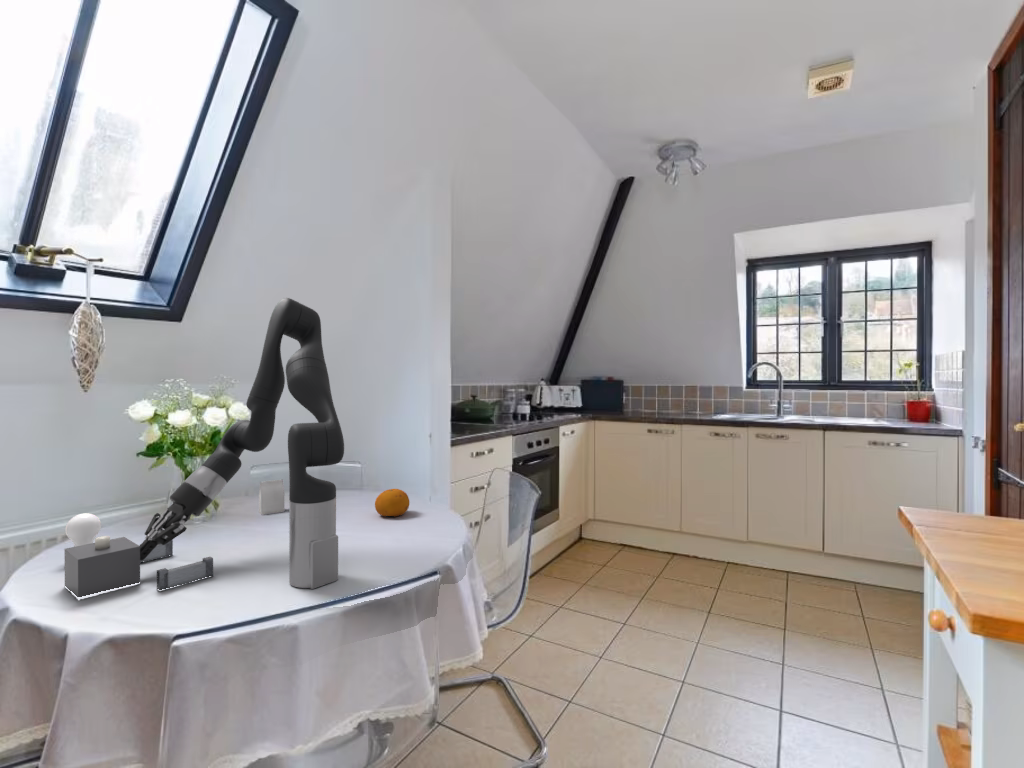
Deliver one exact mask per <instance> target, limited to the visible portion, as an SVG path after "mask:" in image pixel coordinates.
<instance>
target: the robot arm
mask: <svg viewBox="0 0 1024 768" xmlns="http://www.w3.org/2000/svg"><path fill="white" fill-rule="evenodd" d="M283 336H286V337H288V338H291V339H294V340H295V341H297V342H298V343H299V345H300V348H299V349H298V350H296V351H295V352H294V353H293V354H292V355H291V356H290V357H289V359H288V360H287V363H286V365H285V370H284V366H283V361H282V352H281V346H282V345H281V344H282V340H283V338H284V337H283ZM322 341H323V340H322V321H321V318H320V315H319V313H318V312H317V311H316V310H315V309H313V308H311V307H308V306H307V305H304V303H301V302H299V301H296V300H295V299H292V298H290V297H283V298H282V299H280V300H279V301H278V302H277V304H275V306H274V308H273V310H272V313H271V316H270V318H269V322H268V326H267V330H266V334H265V339H264V344H263V347H262V352H261V353H262V354H261V357H260V363H259V366H258V370H257V373H256V377H255V378H254V382H253V384H252V386H251V389H250V391H249V394H248V397H247V399H246V407H247V409H248V410H249V411H250V418H249V420H248V419H241V420H239V421H236V422H235V423H233V424H232V425H231V426H230V427H229V428H228V429H227V430H226V431H225V432H224V434H223V436H222V437H221V439H220V441H219V442H218V445H217V446H216V448H215V450H214V451H213V453H211V455H209V457H208V458H207V459H206V460H205V461H204V462H203V463H202V464H201V465H200V466H199V467H198V468H196V469H195V470H194V471H193V472H191V474H190V475H189V476H188V477H187V478H186V479H185V480H184V481H183V482H182V483H181V485H179V486H178V487H177V488H176V490H175V491H173V492H172V493H171V495H170V496H169V500H170V501H171V502H172V504H171V505H170V506H169V507H167V508H166V509H164V511H163V512H162V513H161V514H160V513H158V512H156V513H155V514H154V515H153V516H152V519H151V521H150V522H149V524H148V526H147V528H146V529H145V532H144V536H145V537H144V539H145V540H143V541H142V542H141V544H139V546H140V560H141V561H142V560H144V559H145V558H146V557H147V556H148V555H149V554H150V552H151V551H152V550H153V549H154V548H155V547H156V546H159V545H160V544H162V545H165V544H166V543H168V542H169V541H171V540H172V539H173V540H174V539H176V538H177V537H179V536H180V535H181V534H183V533H184V532H186V531H187V527H186V526H185V524H186V523H187V522H188V521H189V519H190V517H191V516H195V517H199V516H201V515H202V514H203V512H204V511H205V510H206V509H207V508H208V507H209V506H210V504H211V503H212V502H213V501H214V500H215V498H217V496H219V494H220V493H221V492H222V491H223V490H224V488H225V486H226V485H227V483H229V482H230V481H231V479H232V478H233V477H234V476H235V475H236V474H237V472H239V471H240V469H241V467H242V465H243V464H242V460H241V459H240V456H241V455H242V453H244V451H245V450H246V451H248V452H252V453H253V452H254V453H258V452H261V451H264V449H266V448H267V447H268V446H269V445H270V443H271V442H272V439H273V436H274V431H275V424H276V423H275V422H276V414H277V413H276V411H277V408H278V405H279V403H280V400H281V397H282V395H283V392H284V389H285V382H286V384H287V388H288V391H289V393H290V395H291V396H292V397H293V398H294V399H295V400H296V402H298V403H299V404H300V405H301V406H303V408H305V409H306V410H307V412H308V411H309V413H311V414H312V415H313V416H314V418H315V420H317V422H300V423H293V424H292V425H291V426H290V428H289V430H288V433H287V453H288V454H287V455H288V472H289V474H288V475H289V486H288V487H289V495H288V497H289V502H288V503H289V508H288V509H289V514H288V515H289V520H288V521H289V523H288V524H289V529H288V530H289V531H288V533H289V536H288V538H289V539H288V540H289V542H288V545H289V546H288V547H289V549H288V550H289V555H288V558H289V560H288V561H289V562H288V565H289V566H288V567H289V568H288V570H289V571H288V572H289V573H288V574H289V578H288V579H289V581H288V582H289V584H290V586H292V587H295V588H303V589H307V588H308V589H311V590H314V589H317V588H319V587H322V586H324V585H327V584H330V583H333V582H336V581H338V580H339V536H338V534H337V487H336V484H335V483H334V482H331V481H328V480H325V479H321V478H317V477H314V476H312V475H311V474H309V473H308V471H307V468H313V467H325V466H332V465H337V464H338V463H340V462H342V460H343V457H344V455H345V441H344V440H345V439H344V436H343V431H342V428H341V423H340V421H339V418H338V414H337V410H336V407H335V404H334V400H333V397H332V396H333V395H332V391H331V383H330V377H329V373H328V367H327V364H326V360H325V354H324V349H323V348H324V347H323V342H322ZM285 375H286V376H285ZM285 379H286V380H285Z"/></svg>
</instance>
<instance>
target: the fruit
mask: <svg viewBox="0 0 1024 768" xmlns="http://www.w3.org/2000/svg"><path fill="white" fill-rule="evenodd" d="M409 507H410V498H409V494H407V493H406V492H405V491H404V490H402V489H399V488H390V489H386V490H383V491H382V492H381V493H379V495H377V497H376V499H375V501H374V508H375V511H376V512H377V514H379V515H381V516H383V517H386V516H394V517H399V515H400V516H402V515H404V514H405V513H406V512H407V511H408V509H409Z"/></svg>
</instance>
